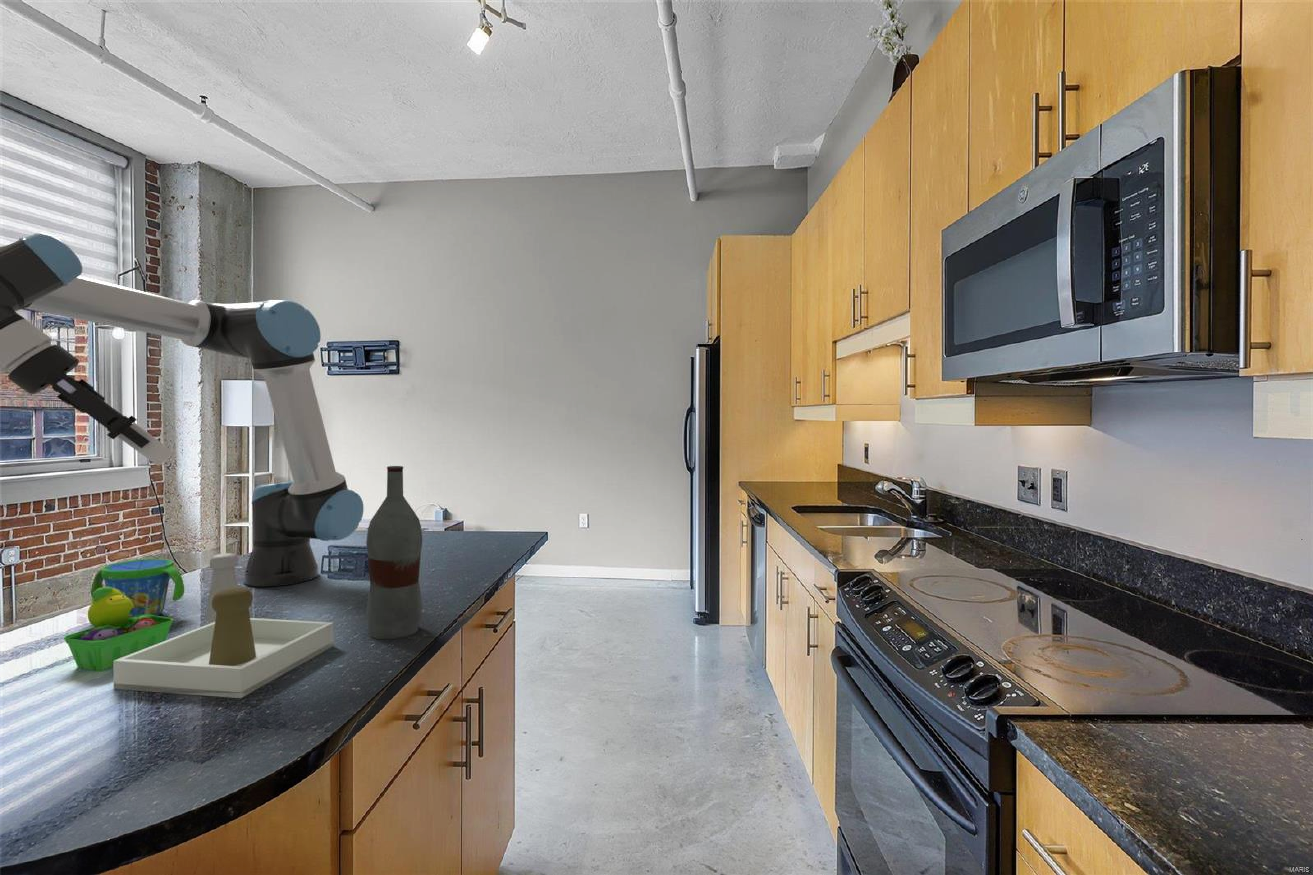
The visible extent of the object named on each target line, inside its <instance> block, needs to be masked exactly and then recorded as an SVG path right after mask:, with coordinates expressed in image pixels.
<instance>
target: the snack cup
mask: <svg viewBox="0 0 1313 875" xmlns="http://www.w3.org/2000/svg"><path fill="white" fill-rule="evenodd" d="M174 565H175V564H174V561H173V560H172V559H168V558H146V559H145V558H143V559H134V560H126V561H120V562H115V563H111V564H107V565H104V566H103V567H102V568H101V569H100V570H98V571H97V572H96V574H95V575H94V578H93V580H92V584H91V589H90V597H92V595H93V593H94V591H95V590H97V589H98V588H102V587H111V588H115V589H118V590H119V591H120V592H121V593H122V594H123V595H125V596H127V597H128V598H129V599H130V600H131V601H132V602H133V605H134V608H133V609H131V611H130V614H129V618H130V617H134V616H138V615H154V616H160V615H162V613H163V612H164V609H165V605H166V600H167V595H168V594H167V593H168V589H169V584H170V579H171V580H172V582H173V583H174V590H173V594H172V595H173V596H172V598H171V599H172V601H175V602H177V601H178V600H180V599H182V598H183V597H184V594H185V585H184V580H183V577H182V574H181V573H180V571H179V569H177V568H176V567H174ZM103 582H104V584H105V585H104V584H103Z"/></svg>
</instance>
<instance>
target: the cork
mask: <svg viewBox="0 0 1313 875" xmlns="http://www.w3.org/2000/svg"><path fill="white" fill-rule="evenodd" d="M253 600H254V596H253V592H252V591H251V589H249V588H247V587H239V586H238V587H237V588H228V589H224V590H221V591H219V592H217V593H216V594H215V595H214V597H213V599H212V607H213V610H214V611H215V612H216V620H215V626H214V633H213V640H212V646H211V653H210V659H209V665H224V666H235V665H239V664H243V663H246V662H249V661H251V660H252V659H254V658H255V657H256V652H255V645H254V639H253V633H252V627H251V621H250V618H251V616H250V610H249V608H250V607H251V606H252V604H253Z"/></svg>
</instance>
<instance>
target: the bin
mask: <svg viewBox="0 0 1313 875" xmlns="http://www.w3.org/2000/svg"><path fill="white" fill-rule="evenodd" d="M250 621H251V627H252V633H253V639H254V645H255V652H256V657H255V658H254V659H252V660H251V661H249V662H246V663H243V664H239V665H235V666H224V665H209V659H210V653H211V646H212V640H213V633H214V626H215V622H213V623H210V624H209V623H207V624H205V625H203V626H200V627H198V628H195V629H192V630H190V631H188V632H185V633H183V634H179V635H177V636H174V637H171V638H169V639H166V641H164V642H161V643H158V644H156V645H153V646H151V647H148V648H145V649H143V650H140V651H138V652H135V653H132V654H130V655H127V656H125V657H122V658H119V659H117V660H114V661H113V667H112V668H113V689H114V688H116V689H115V690H122V691H135V692H136V691H137V692H138V691H140V692H151V693H164V694H177V695H192V696H204V697H205V696H206V697H208V696H209V697H217V698H218V697H220V698H221V697H222V698H232V699H242V698H244V697H245V696H248V695H249V694H252V692H254V691H256V690H258V689H260V688H262V687H263V686H265V685H267V684H268V683H271V682H272V681H274V680H276V679H278V678H279V677H281V676H282V675H284V674H286V673H288V672H290V671H292V670H294V669H295V668H297V667H299V666H301V665H302V664H304V663H306V662H308V661H310V660H311V659H314V658H315V657H317V656H319V655H320V654H322V653H324V652H325V651H326V652H327V650H329V649H331V648H333V647H334V644H335V643H334V641H335V640H334V639H335V638H334V631H335V630H334V628H335V627H334V626H335V625H334V622H331V621H330V622H329V621H311V620H292V619H278V618H277V619H275V618H274V619H273V618H255V617H250Z"/></svg>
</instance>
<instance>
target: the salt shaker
mask: <svg viewBox="0 0 1313 875" xmlns="http://www.w3.org/2000/svg"><path fill="white" fill-rule="evenodd" d="M238 564H239V558H238V554H235V553H231V552H230V553H229V552H227V553H218V554H215V555H213V556H211V557H210V559H209V568H210V569H213V571H212V572H213V573H212V577H211V582H210V588H209V593H208V597H207V602H206V608H205V613H204V617H205V619H206V621H207V624H210V623H213V622H215V620H216V612H215V611H214V610H213V607H212V599H213V597H214V595H215V594H216V593H217V592H219V591H221V590H224V589H228V588H237V587H239V585H238V579H237V575H236V572H235V571H236V570H235V567H237V566H238Z"/></svg>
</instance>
